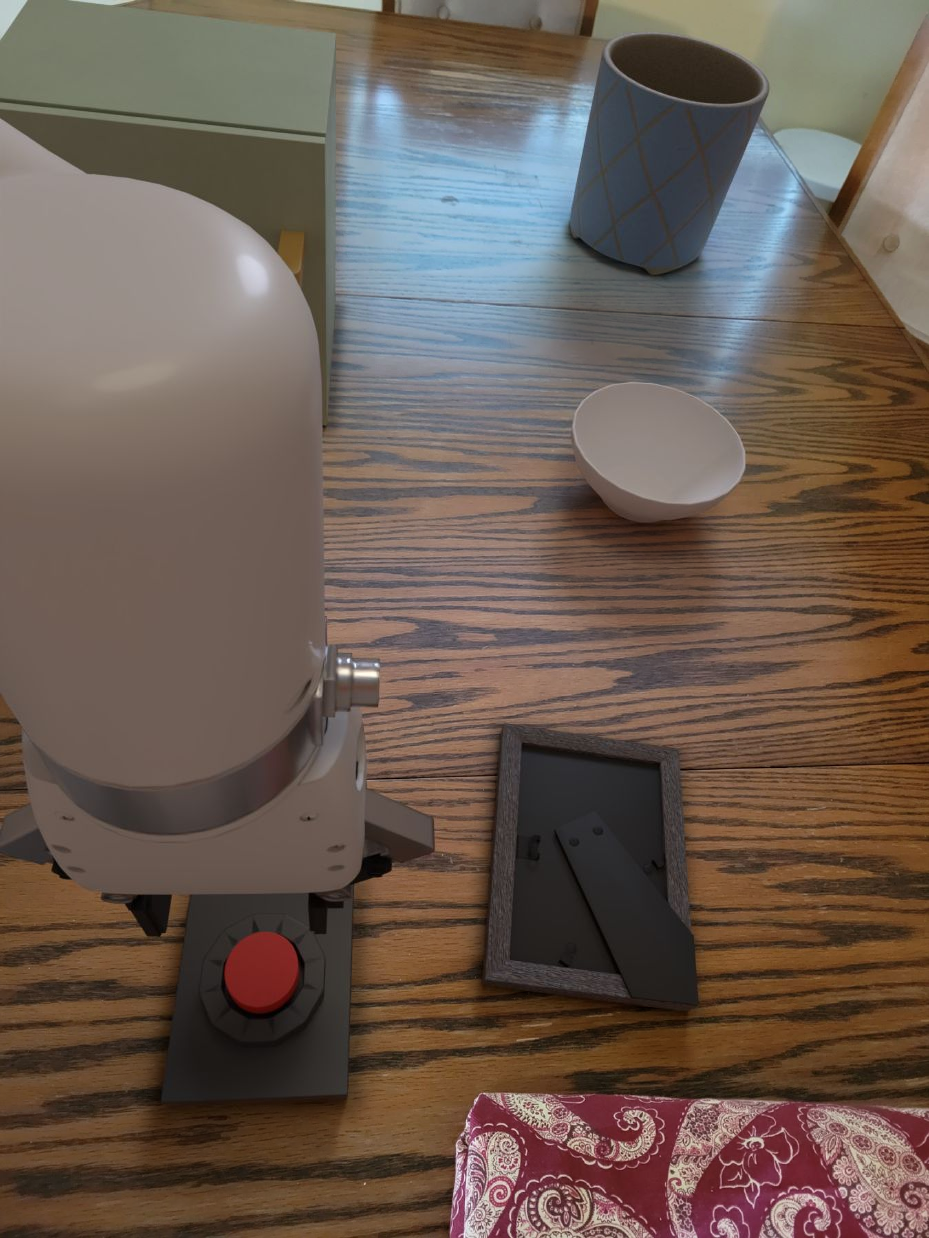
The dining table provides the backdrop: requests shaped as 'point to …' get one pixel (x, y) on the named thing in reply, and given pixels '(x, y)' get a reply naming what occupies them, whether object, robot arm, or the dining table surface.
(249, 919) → the switch block
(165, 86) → the cabinet
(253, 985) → the button
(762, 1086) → the dining table surface
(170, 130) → the cabinet door
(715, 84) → the planter
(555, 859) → the picture frame
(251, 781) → the robot arm
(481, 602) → the dining table surface
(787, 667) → the dining table surface
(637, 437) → the bowl
